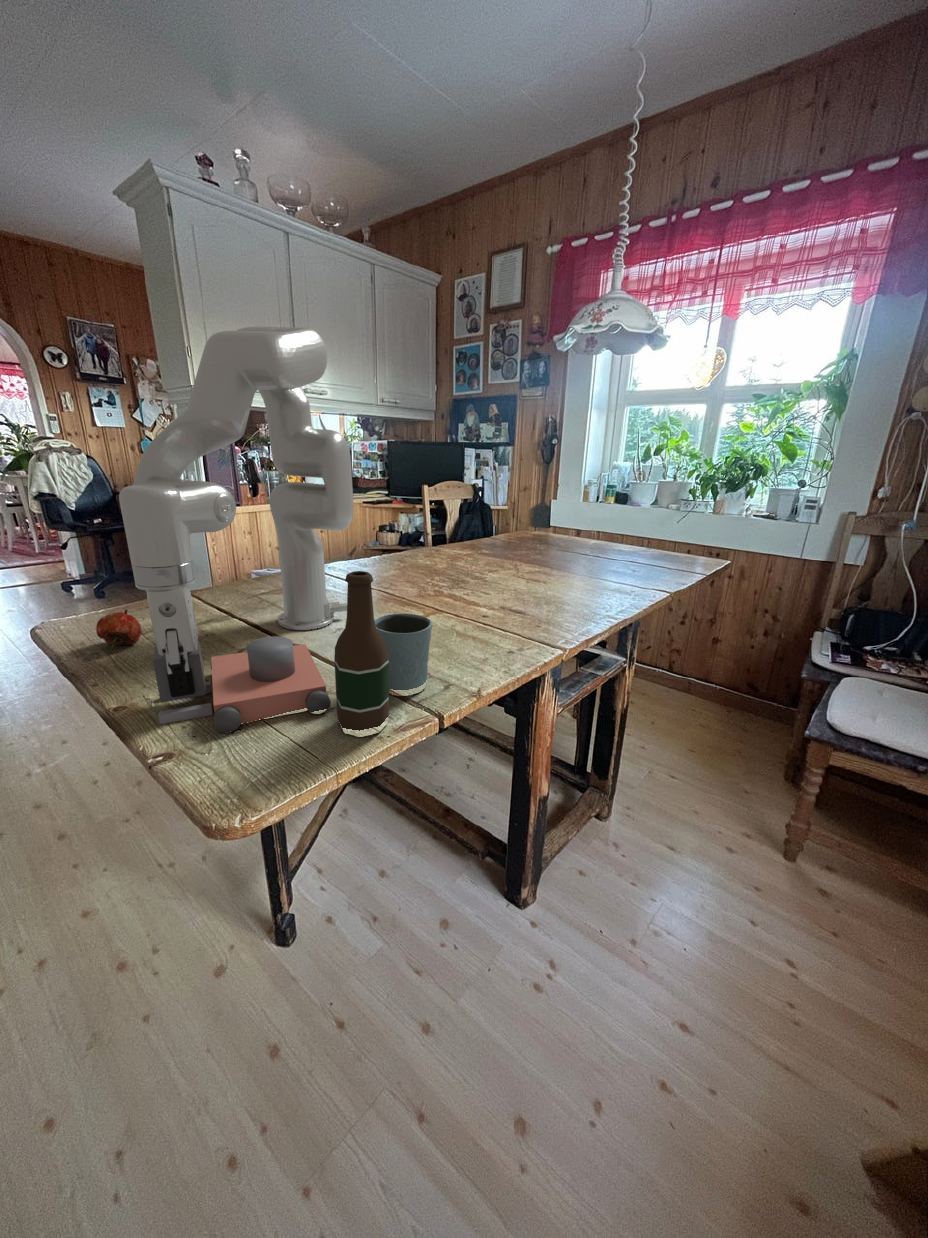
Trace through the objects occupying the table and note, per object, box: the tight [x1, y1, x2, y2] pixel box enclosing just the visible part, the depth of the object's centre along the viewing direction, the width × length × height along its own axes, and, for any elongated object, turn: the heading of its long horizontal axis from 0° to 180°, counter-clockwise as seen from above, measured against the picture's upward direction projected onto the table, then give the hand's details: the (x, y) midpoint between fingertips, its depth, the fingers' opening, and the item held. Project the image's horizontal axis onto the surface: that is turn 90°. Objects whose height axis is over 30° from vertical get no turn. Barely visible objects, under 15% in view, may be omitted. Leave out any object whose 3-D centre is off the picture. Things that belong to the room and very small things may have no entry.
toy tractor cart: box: [157, 635, 332, 734], centre depth 79 cm, size 24×21×9 cm
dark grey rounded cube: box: [152, 641, 207, 703], centre depth 75 cm, size 6×5×7 cm
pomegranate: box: [95, 609, 143, 655], centre depth 96 cm, size 7×7×10 cm
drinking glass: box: [374, 613, 433, 690], centre depth 85 cm, size 10×10×12 cm
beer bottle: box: [333, 570, 390, 731], centre depth 70 cm, size 8×8×24 cm
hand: (183, 685), depth 76 cm, fingers closed on dark grey rounded cube, 5 cm apart
